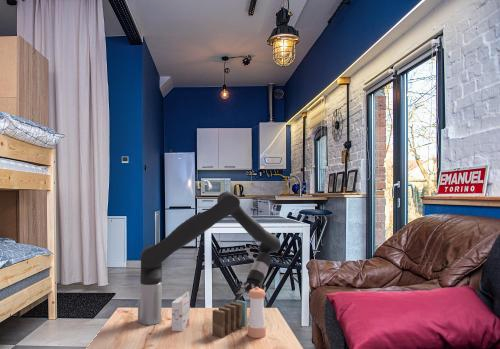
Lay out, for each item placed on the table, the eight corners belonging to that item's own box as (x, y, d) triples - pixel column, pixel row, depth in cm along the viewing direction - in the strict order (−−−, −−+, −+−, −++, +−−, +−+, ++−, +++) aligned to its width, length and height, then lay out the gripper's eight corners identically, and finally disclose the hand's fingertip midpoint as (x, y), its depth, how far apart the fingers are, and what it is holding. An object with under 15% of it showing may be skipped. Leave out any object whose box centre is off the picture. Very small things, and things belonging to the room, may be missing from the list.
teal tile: (237, 322, 169) (237, 299, 169) (246, 324, 166) (246, 301, 167) (235, 323, 168) (235, 300, 168) (244, 326, 165) (244, 302, 165)
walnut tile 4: (220, 331, 159) (220, 306, 159) (230, 333, 156) (230, 308, 156) (218, 332, 157) (218, 307, 158) (228, 334, 155) (228, 309, 155)
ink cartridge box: (178, 323, 167) (179, 289, 168) (189, 324, 166) (190, 290, 167) (171, 330, 159) (171, 295, 159) (182, 331, 158) (182, 295, 158)
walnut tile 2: (232, 325, 165) (232, 302, 166) (241, 327, 163) (241, 304, 163) (229, 326, 164) (230, 303, 164) (239, 328, 161) (239, 305, 162)
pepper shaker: (251, 339, 150) (252, 290, 151) (245, 332, 157) (245, 285, 158) (268, 336, 153) (268, 288, 154) (261, 330, 160) (261, 284, 161)
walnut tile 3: (226, 328, 162) (226, 304, 162) (236, 330, 159) (236, 306, 160) (224, 329, 161) (224, 305, 161) (233, 331, 158) (234, 307, 158)
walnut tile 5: (214, 334, 155) (215, 309, 156) (224, 336, 153) (224, 311, 153) (212, 335, 154) (212, 310, 154) (222, 338, 151) (222, 312, 152)
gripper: (242, 267, 180) (227, 297, 170) (268, 270, 173) (254, 302, 163) (248, 276, 185) (234, 306, 175) (273, 280, 177) (260, 311, 167)
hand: (243, 304), depth 169 cm, fingers open, 8 cm apart
